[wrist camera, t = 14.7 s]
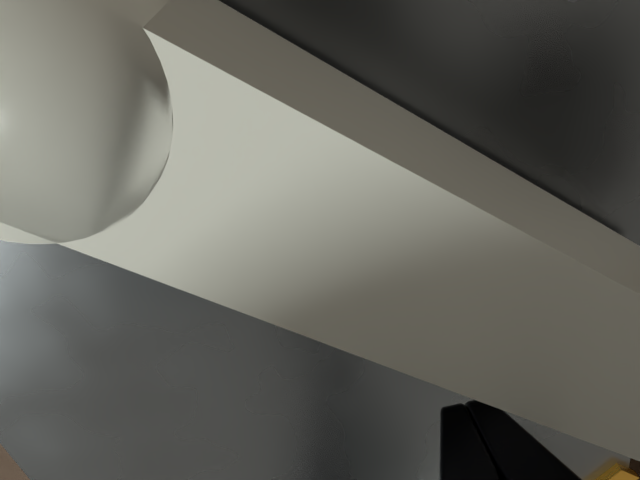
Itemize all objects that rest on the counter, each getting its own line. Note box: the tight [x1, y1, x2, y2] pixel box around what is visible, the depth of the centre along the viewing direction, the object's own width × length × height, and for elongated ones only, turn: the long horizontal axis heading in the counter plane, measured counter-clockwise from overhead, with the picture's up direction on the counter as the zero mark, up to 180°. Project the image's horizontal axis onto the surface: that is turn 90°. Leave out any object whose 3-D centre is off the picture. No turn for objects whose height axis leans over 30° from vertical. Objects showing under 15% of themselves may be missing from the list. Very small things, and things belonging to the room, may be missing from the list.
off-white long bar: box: [0, 0, 640, 461], centre depth 7 cm, size 10×2×3 cm, turn 60°
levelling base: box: [0, 0, 640, 480], centre depth 12 cm, size 23×13×3 cm, turn 12°
